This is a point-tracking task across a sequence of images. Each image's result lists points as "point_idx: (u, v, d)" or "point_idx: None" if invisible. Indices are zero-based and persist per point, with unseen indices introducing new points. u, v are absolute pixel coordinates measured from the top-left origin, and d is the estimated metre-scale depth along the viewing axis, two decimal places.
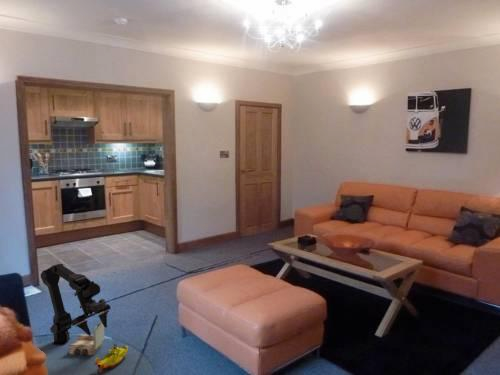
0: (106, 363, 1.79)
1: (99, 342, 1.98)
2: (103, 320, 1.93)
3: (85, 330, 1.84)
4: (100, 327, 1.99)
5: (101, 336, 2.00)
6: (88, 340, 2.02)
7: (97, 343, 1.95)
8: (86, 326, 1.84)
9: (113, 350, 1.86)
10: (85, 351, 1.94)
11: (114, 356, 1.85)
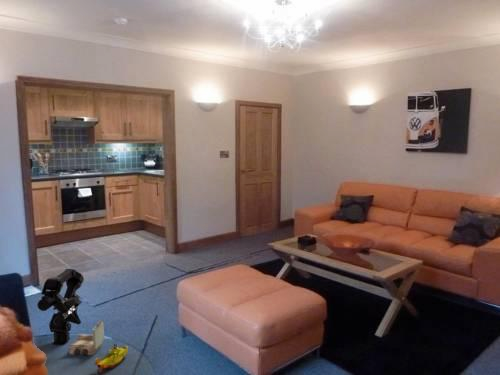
0: (106, 363, 1.79)
1: (99, 342, 1.98)
2: None
3: (74, 321, 1.97)
4: (99, 327, 1.99)
5: (101, 336, 2.00)
6: (88, 340, 2.02)
7: (97, 343, 1.95)
8: (74, 316, 1.96)
9: (113, 350, 1.86)
10: (85, 351, 1.94)
11: (114, 356, 1.85)
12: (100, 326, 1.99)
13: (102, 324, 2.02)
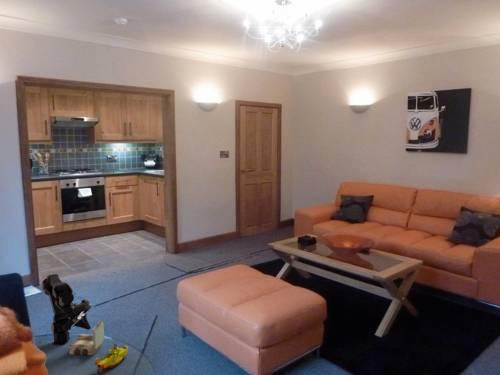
0: (106, 363, 1.79)
1: (99, 342, 1.98)
2: None
3: (84, 326, 1.97)
4: (99, 327, 1.99)
5: (101, 336, 2.00)
6: (88, 340, 2.02)
7: (97, 343, 1.95)
8: (84, 322, 1.97)
9: (113, 350, 1.86)
10: (85, 351, 1.94)
11: (114, 356, 1.85)
12: (100, 326, 1.99)
13: (102, 324, 2.02)
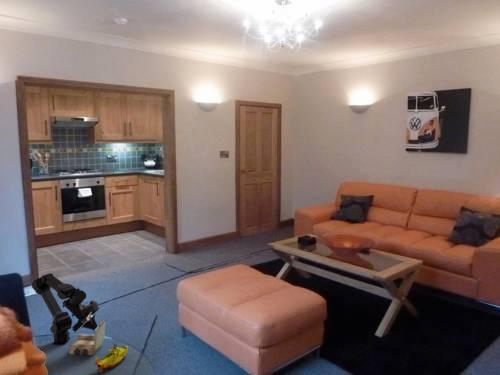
0: (106, 363, 1.79)
1: (99, 342, 1.98)
2: None
3: (92, 327, 1.97)
4: (101, 327, 1.98)
5: (101, 336, 2.00)
6: (88, 340, 2.02)
7: (97, 343, 1.95)
8: (92, 323, 1.96)
9: (113, 350, 1.86)
10: (85, 351, 1.94)
11: (114, 356, 1.85)
12: (102, 326, 1.99)
13: (104, 324, 2.02)
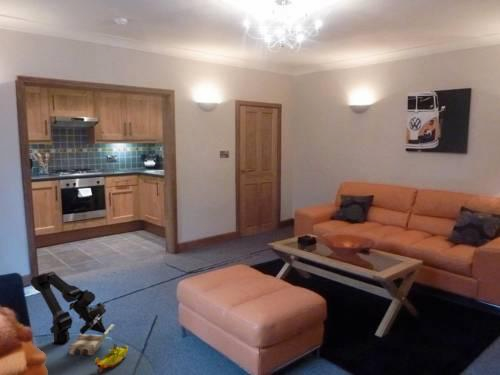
0: (106, 363, 1.79)
1: (100, 344, 1.98)
2: None
3: (99, 330, 1.97)
4: None
5: (104, 338, 2.00)
6: (88, 340, 2.02)
7: (99, 345, 1.95)
8: (99, 325, 1.96)
9: (113, 350, 1.86)
10: (85, 351, 1.94)
11: (114, 356, 1.85)
12: (109, 330, 1.99)
13: None
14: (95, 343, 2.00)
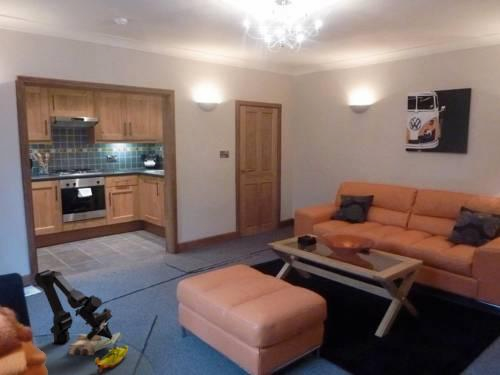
0: (106, 363, 1.79)
1: None
2: None
3: (106, 335, 1.97)
4: None
5: None
6: (88, 340, 2.02)
7: None
8: (106, 331, 1.97)
9: (113, 350, 1.86)
10: (85, 351, 1.94)
11: (114, 356, 1.85)
12: None
13: None
14: (95, 343, 2.00)
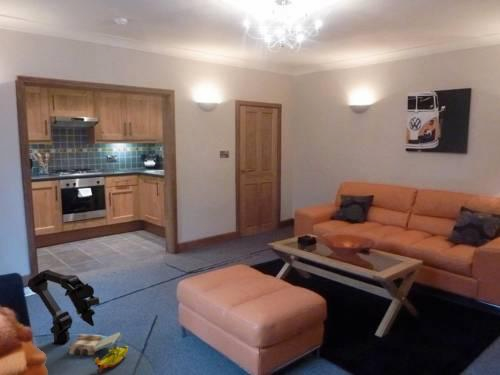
0: (106, 363, 1.79)
1: None
2: None
3: (90, 321, 2.00)
4: None
5: None
6: (88, 340, 2.02)
7: None
8: (91, 317, 2.01)
9: (113, 350, 1.86)
10: (85, 351, 1.94)
11: (114, 356, 1.85)
12: None
13: None
14: (95, 343, 2.00)
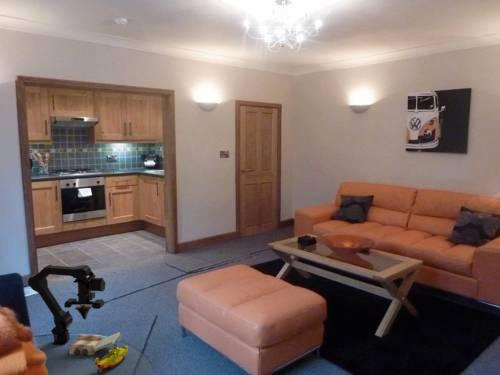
0: (106, 363, 1.79)
1: None
2: None
3: (86, 314, 2.03)
4: None
5: None
6: (88, 340, 2.02)
7: None
8: None
9: (113, 350, 1.86)
10: (85, 351, 1.94)
11: (114, 356, 1.85)
12: None
13: None
14: (95, 343, 2.00)
